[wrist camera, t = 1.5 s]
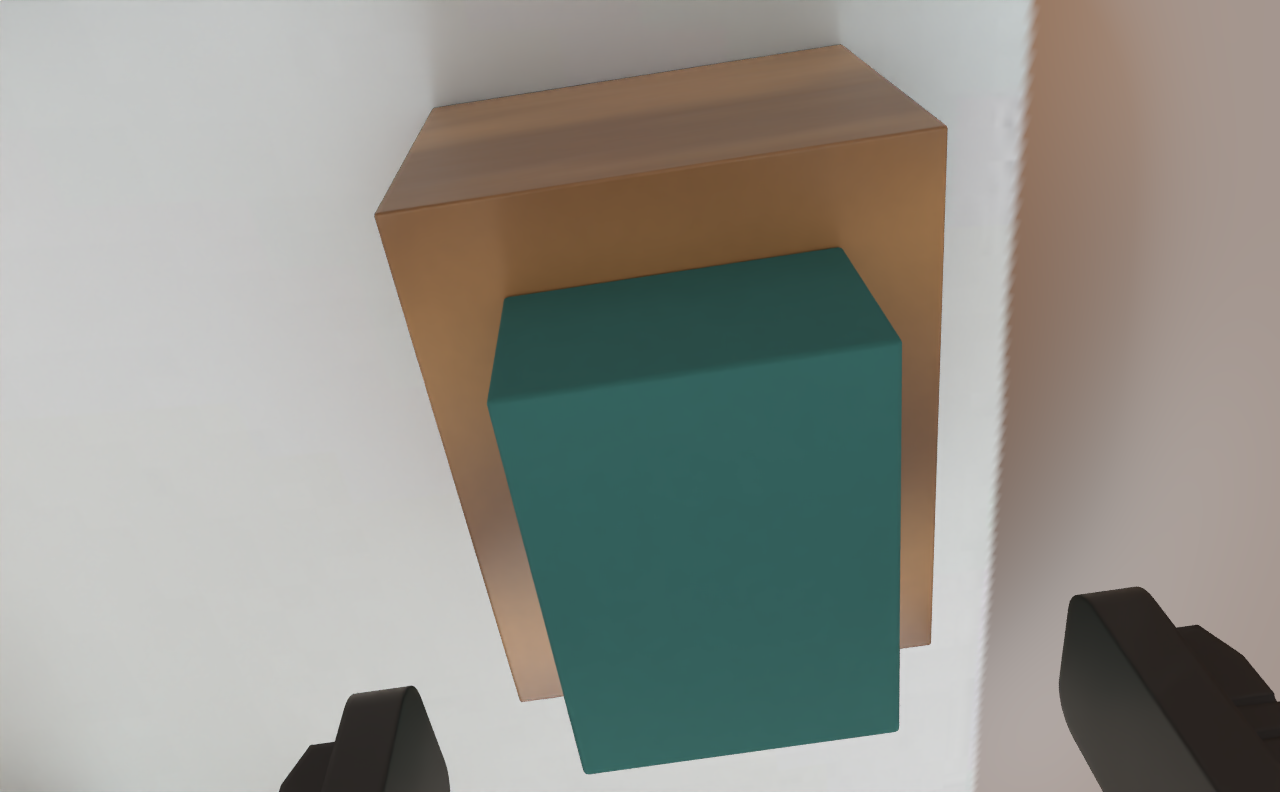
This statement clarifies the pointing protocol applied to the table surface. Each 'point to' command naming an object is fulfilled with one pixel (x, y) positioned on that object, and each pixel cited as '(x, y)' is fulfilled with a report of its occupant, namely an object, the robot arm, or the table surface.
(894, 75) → the table surface
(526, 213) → the oak stand
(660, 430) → the teal rectangular block
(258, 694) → the table surface
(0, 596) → the table surface
